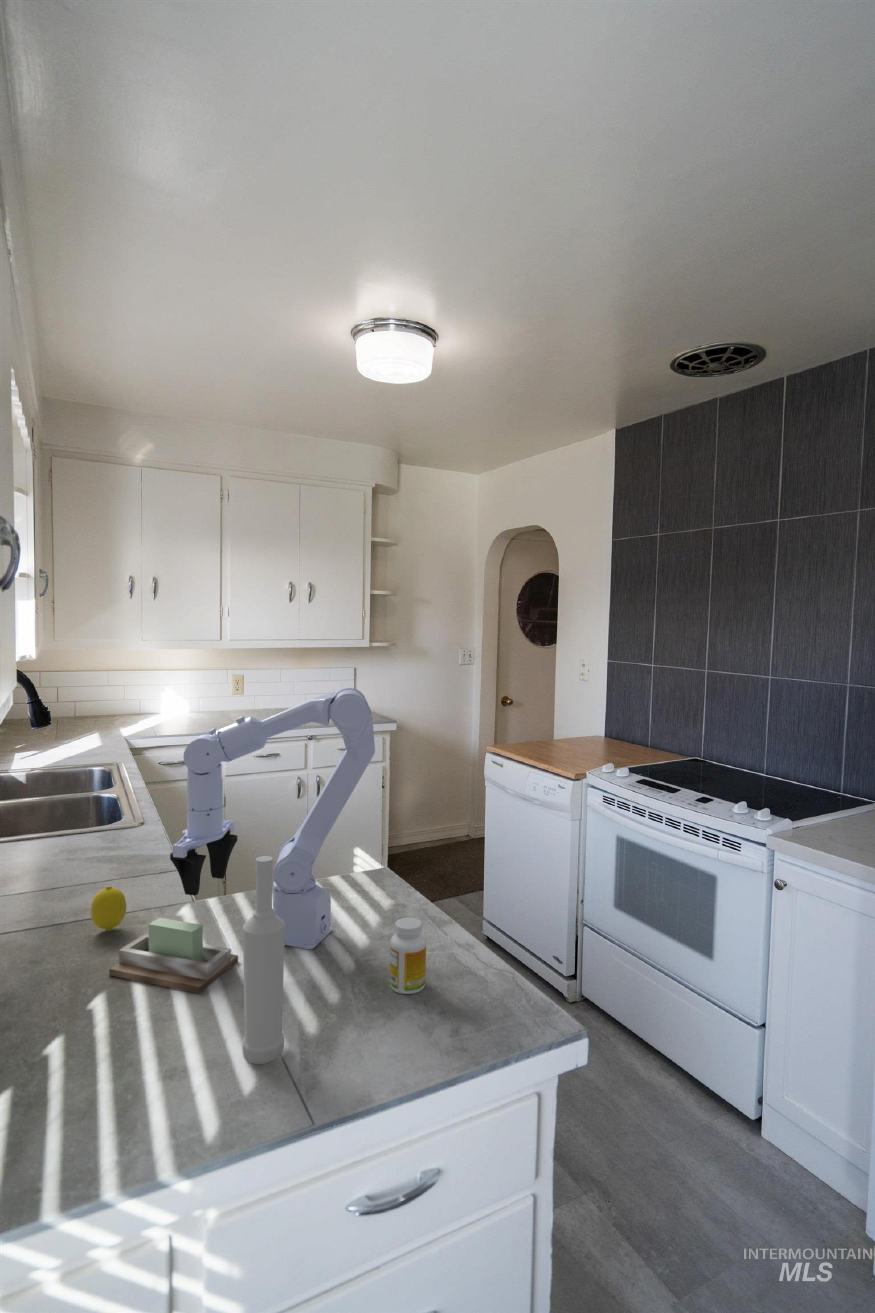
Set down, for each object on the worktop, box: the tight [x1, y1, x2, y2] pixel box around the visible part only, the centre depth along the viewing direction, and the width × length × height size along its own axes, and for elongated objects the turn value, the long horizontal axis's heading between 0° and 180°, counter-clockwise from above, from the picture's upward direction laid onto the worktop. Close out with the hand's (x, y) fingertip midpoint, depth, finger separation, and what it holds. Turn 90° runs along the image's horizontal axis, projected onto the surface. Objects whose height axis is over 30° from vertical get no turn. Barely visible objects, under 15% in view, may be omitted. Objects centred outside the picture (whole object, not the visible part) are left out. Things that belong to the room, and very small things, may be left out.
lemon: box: [90, 885, 127, 932], centre depth 120 cm, size 6×6×8 cm
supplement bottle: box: [389, 917, 427, 995], centre depth 104 cm, size 5×5×10 cm
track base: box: [108, 933, 239, 994], centre depth 108 cm, size 16×10×3 cm, turn 73°
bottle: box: [242, 855, 285, 1065], centre depth 87 cm, size 5×5×25 cm
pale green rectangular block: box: [148, 917, 204, 962], centre depth 108 cm, size 8×2×6 cm, turn 73°
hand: (205, 885), depth 118 cm, fingers open, 7 cm apart
